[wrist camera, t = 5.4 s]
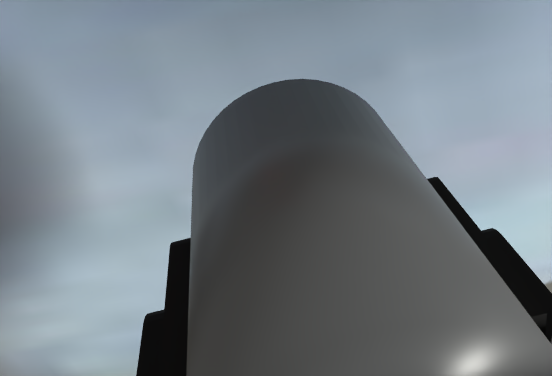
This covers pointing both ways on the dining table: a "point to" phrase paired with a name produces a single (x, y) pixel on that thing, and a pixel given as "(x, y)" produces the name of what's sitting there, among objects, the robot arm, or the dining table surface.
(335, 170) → the plug
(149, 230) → the dining table surface
